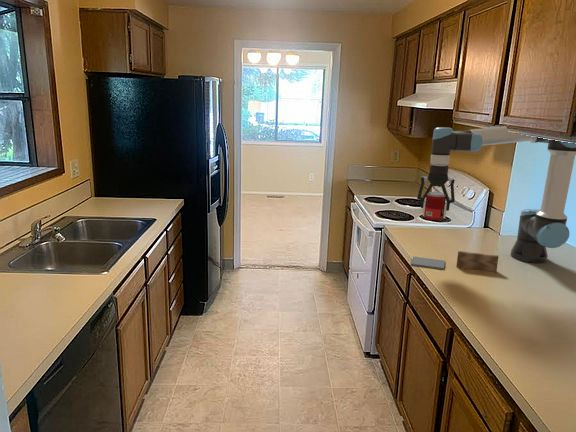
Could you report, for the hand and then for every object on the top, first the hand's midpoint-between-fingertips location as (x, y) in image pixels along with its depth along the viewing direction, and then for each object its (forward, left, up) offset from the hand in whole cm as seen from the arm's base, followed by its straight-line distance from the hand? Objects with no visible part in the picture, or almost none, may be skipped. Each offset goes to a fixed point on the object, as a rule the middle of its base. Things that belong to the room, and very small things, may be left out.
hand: (433, 216), depth 190 cm
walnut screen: (-19, -1, -22) cm, 29 cm away
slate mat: (+1, 0, -22) cm, 22 cm away
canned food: (0, 0, -1) cm, 1 cm away
